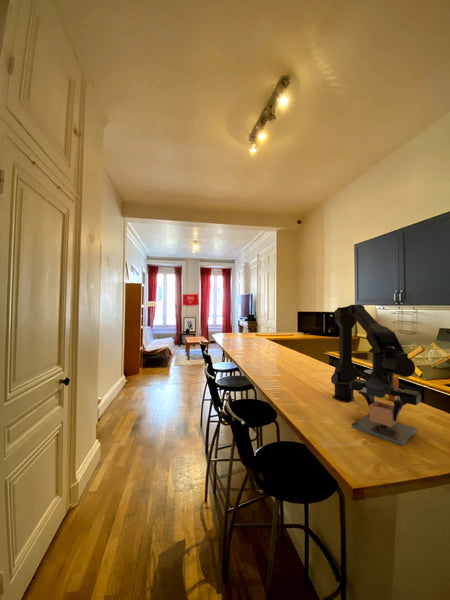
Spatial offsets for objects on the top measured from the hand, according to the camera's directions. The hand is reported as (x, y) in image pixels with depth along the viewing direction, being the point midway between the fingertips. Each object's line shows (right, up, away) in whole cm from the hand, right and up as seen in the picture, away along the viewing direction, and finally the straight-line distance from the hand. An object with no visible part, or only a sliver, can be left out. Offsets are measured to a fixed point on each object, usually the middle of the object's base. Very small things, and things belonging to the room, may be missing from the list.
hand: (383, 417), depth 79 cm
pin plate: (0, -4, 0) cm, 4 cm away
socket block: (0, -1, 0) cm, 1 cm away
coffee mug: (+16, -6, +34) cm, 38 cm away
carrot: (+20, -5, +25) cm, 32 cm away
